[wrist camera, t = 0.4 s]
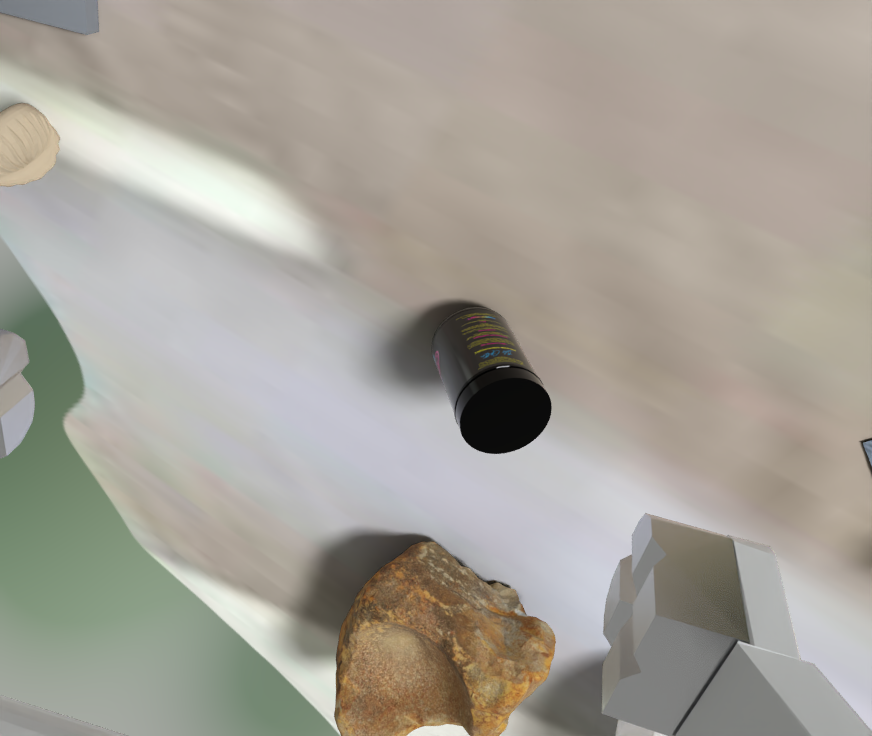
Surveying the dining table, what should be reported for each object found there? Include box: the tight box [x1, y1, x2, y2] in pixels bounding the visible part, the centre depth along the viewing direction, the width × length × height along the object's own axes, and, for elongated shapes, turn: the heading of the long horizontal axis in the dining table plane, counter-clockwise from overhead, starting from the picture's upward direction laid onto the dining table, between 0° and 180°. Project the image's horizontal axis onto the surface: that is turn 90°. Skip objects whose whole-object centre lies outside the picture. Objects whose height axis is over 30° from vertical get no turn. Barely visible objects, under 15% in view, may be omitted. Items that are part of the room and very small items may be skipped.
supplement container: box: [432, 307, 551, 454], centre depth 58 cm, size 7×7×10 cm
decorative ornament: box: [0, 103, 60, 187], centre depth 57 cm, size 4×8×5 cm
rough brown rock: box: [334, 542, 556, 736], centre depth 73 cm, size 23×17×15 cm
